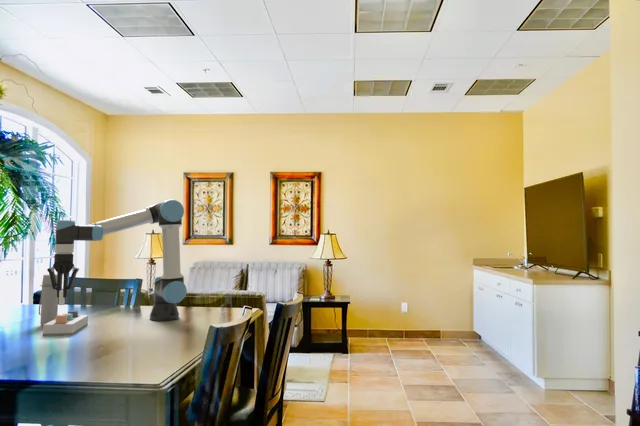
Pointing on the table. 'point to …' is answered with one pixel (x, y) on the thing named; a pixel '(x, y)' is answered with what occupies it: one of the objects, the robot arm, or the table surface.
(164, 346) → the table surface
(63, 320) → the button terracotta
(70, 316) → the button teal
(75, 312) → the button charcoal
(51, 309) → the water bottle
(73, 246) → the robot arm
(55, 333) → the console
